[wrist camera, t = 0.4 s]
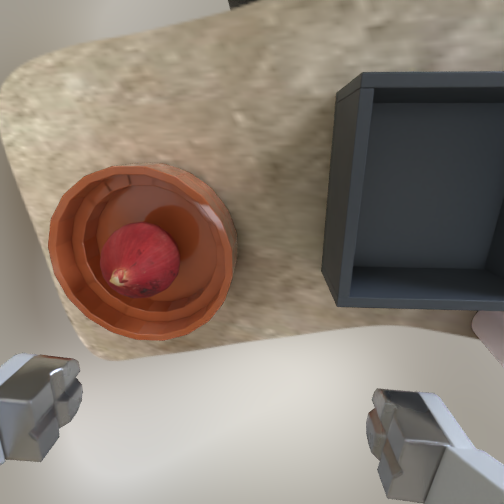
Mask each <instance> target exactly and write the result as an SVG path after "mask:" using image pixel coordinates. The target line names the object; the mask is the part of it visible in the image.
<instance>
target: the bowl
mask: <svg viewBox="0 0 504 504" xmlns="http://www.w3.org/2000/svg"><path fill="white" fill-rule="evenodd" d="M137 222H148V223H151V224H155V225H158V226H160V227H161V228H163V229H164V230H166V231H167V232H168V233H170V234H171V236H172V237H173V239H174V240H175V242H176V243H177V245H178V249H179V253H180V266H179V273H178V275H177V277H176V278H175V279H174V281H173V282H172V284H171V285H170V286H169V287H168V288H167V289H166V290H164V291H162V292H160V293H158V294H156V295H154V296H152V297H148V298H130V297H127V296H124V295H121V294H119V293H118V292H116V291H115V290H114V289H112V288H111V287H110V286H109V285H108V283H107V282H106V280H105V279H104V278H103V275H102V271H101V268H100V258H101V251H102V248H103V246H104V244H105V243H106V241H107V240H108V238H109V237H110V236H111V235H112V234H113V232H115V231H116V230H118V229H120V228H121V227H123V226H125V225H127V224H130V223H137ZM48 249H49V253H50V258H51V262H52V266H53V271H54V274H55V276H56V278H57V280H58V281H59V283H60V285H61V287H62V288H63V290H64V292H65V294H66V296H67V297H68V298H69V300H70V301H71V302H72V303H73V304H74V305H75V306H76V307H77V308H78V309H79V310H80V311H81V312H82V313H83V314H84V315H85V316H86V317H88V318H89V319H90V320H92V321H94V322H95V323H97V324H99V325H100V326H102V327H104V328H105V329H107V330H109V331H110V332H113V333H116V334H119V335H123V336H126V337H129V338H133V339H136V340H159V341H163V340H168V339H172V338H176V337H179V336H183V335H187V334H189V333H191V332H192V331H194V330H195V329H197V328H199V327H200V326H202V325H203V324H205V323H207V322H208V321H209V320H210V319H211V318H212V317H213V315H214V314H215V313H216V312H217V310H218V309H219V308H220V307H221V305H222V304H223V303H224V301H225V298H226V295H227V292H228V289H229V287H230V284H231V281H232V278H233V274H234V270H235V266H236V263H237V233H236V230H235V227H234V225H233V222H232V219H231V216H230V213H229V211H228V209H227V208H226V206H225V205H224V204H223V202H222V201H221V200H220V198H219V197H218V196H217V194H216V193H215V192H214V190H213V189H212V188H211V187H209V186H208V185H206V184H205V183H204V182H202V181H201V180H200V179H198V178H197V177H195V176H194V175H193V174H191V173H189V172H187V171H184V170H181V169H179V168H176V167H173V166H170V165H167V164H163V163H134V164H125V165H117V166H111V167H108V168H105V169H103V170H100V171H97V172H94V173H91V174H89V175H86V176H84V177H83V178H82V179H81V180H79V181H78V182H77V183H76V184H75V185H74V186H73V187H71V188H70V189H69V190H68V191H67V192H66V193H65V194H64V195H63V196H62V198H61V200H60V202H59V204H58V206H57V208H56V210H55V212H54V214H53V216H52V218H51V222H50V232H49V241H48Z"/></svg>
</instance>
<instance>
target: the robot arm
mask: <svg viewBox="0 0 504 504" xmlns="http://www.w3.org/2000/svg"><path fill="white" fill-rule="evenodd" d="M79 372H80V367H79V362H78V361H77V360H75V359H71V358H63V357H55V356H47V355H36V354H27V353H19V354H16V355H14V356H13V357H11V358H10V359H9V360H8V361H6V362H5V363H4V364H3V365H1V366H0V465H1V464H3V463H4V462H5V459H6V460H20V461H34V462H41V461H42V460H43V458H44V457H45V456H46V455H47V453H48V452H49V450H50V449H51V448H52V446H53V445H54V444H55V442H56V441H57V439H58V438H59V428H61V427H62V426H64V425H66V424H67V423H69V422H71V420H72V418H73V417H74V416H75V414H76V413H77V411H78V408H79V405H80V403H81V401H82V393H83V391H82V384H81V383H80V382H79V381H78V379H77V378H76V376H77V375H78V373H79ZM372 401H373V404H374V406H375V408H374V409H373V410H372V411H370V412H369V413H368V418H367V422H366V430H367V431H366V432H367V433H366V434H367V439H368V444H369V446H370V449H371V452H372V454H373V455H374V456H375V457H376V458H377V459H378V460H379V461H380V462H379V466H378V469H377V470H378V473H379V476H380V479H381V482H382V484H383V488H384V490H385V492H386V496H387V498H388V499H396V500H403V501H410V502H418V503H424V504H504V465H503V464H502V463H500V462H499V461H497V460H496V459H495V458H493V457H492V456H490V455H489V454H488V453H486V452H485V451H484V450H478V449H476V448H475V446H474V445H473V444H472V442H471V441H470V439H469V438H468V437H467V435H466V434H465V432H464V431H463V429H462V428H461V427H460V425H459V424H458V422H457V421H456V420H455V418H454V417H453V415H452V414H451V412H450V411H449V410H448V408H447V407H446V405H445V404H444V403H443V401H442V400H441V398H440V397H439V396H438V395H436V394H435V393H427V392H410V391H400V390H388V389H376V391H375V392H374V394H373V398H372Z"/></svg>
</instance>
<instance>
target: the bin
mask: <svg viewBox="0 0 504 504" xmlns="http://www.w3.org/2000/svg"><path fill="white" fill-rule="evenodd" d="M321 272H322V274H323V276H324V278H325V281H326V283H327V285H328V287H329V290H330V292H331V294H332V297H333V299H334V301H335V303H336V306H337V307H361V308H399V309H436V310H474V311H504V71H480V72H363V73H361V74H360V75H359V76H357V77H356V78H355V79H353V80H352V81H351V82H350V83H348V84H347V85H346V86H345V87H343V88H342V89H341V90H340V91H338V92H337V93H336V102H335V114H334V126H333V138H332V150H331V162H330V173H329V185H328V197H327V209H326V221H325V233H324V245H323V256H322V268H321Z"/></svg>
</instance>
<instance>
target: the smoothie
mask: <svg viewBox="0 0 504 504" xmlns="http://www.w3.org/2000/svg"><path fill="white" fill-rule="evenodd" d="M472 329H473V331H474V333H475V334H476V335H477V336H478V338H479V339H480V340H481V341H482V342H483V344H484V345H485V346H486V347H487V348H488V349H489V351H490V352H491V353H492V354H493V356H494V357H495V358H496V359H497V360H498V362H499V363H500V364H501V365H502V366H503V368H504V311H478V312H477V313H476V314H475V316H474V318H473V320H472Z"/></svg>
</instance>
